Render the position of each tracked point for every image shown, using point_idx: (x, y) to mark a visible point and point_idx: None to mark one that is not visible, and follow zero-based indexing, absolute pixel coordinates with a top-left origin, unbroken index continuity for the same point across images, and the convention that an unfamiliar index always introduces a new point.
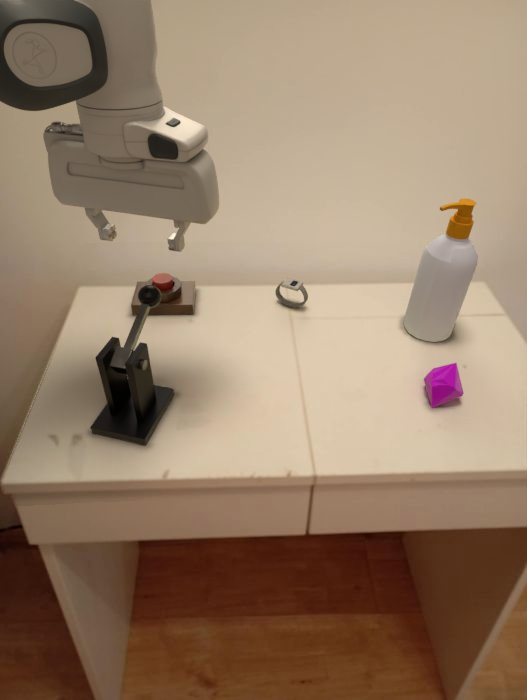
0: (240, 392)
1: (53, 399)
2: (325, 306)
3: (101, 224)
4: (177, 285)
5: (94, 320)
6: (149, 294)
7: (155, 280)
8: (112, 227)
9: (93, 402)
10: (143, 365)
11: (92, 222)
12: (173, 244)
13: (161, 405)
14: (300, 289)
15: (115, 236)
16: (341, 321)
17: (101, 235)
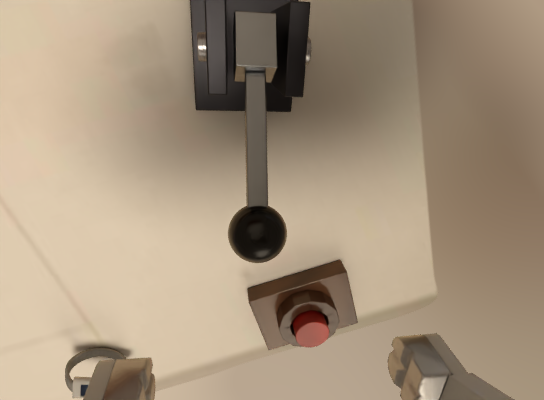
0: (87, 142)
1: (392, 40)
2: (48, 364)
3: (459, 395)
4: (285, 330)
5: (394, 232)
6: (248, 227)
7: (321, 326)
8: (411, 396)
9: (324, 51)
10: (197, 38)
11: (501, 393)
12: (114, 385)
13: (198, 62)
14: (71, 382)
15: (389, 363)
16: (4, 343)
17: (439, 348)
